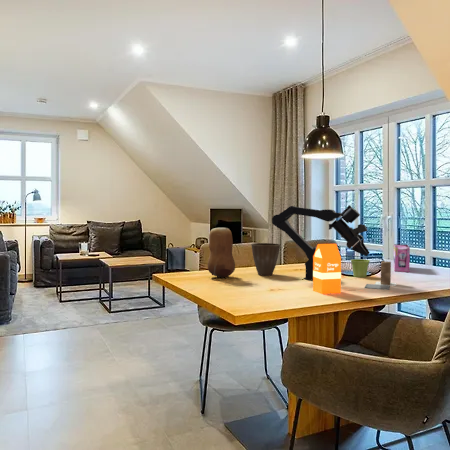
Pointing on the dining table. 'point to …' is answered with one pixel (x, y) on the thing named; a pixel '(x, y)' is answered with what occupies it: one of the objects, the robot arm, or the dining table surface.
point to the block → (385, 273)
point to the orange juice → (327, 269)
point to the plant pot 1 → (265, 257)
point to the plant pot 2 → (360, 267)
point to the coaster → (377, 286)
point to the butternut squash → (221, 253)
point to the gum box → (401, 258)
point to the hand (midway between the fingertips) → (368, 254)
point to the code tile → (381, 284)
